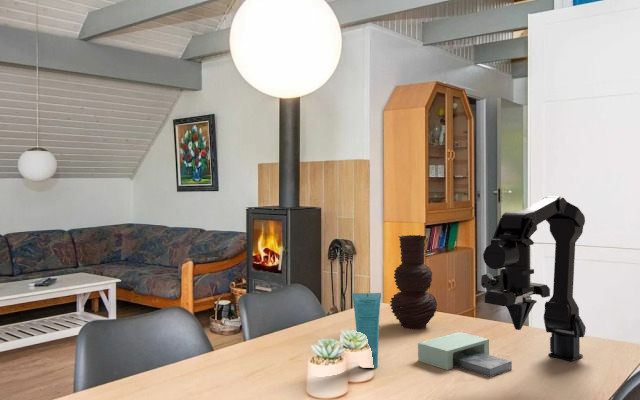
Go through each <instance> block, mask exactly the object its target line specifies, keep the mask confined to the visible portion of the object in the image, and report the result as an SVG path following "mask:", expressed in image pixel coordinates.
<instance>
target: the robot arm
mask: <svg viewBox="0 0 640 400" xmlns="http://www.w3.org/2000/svg"><path fill="white" fill-rule="evenodd" d="M544 221H546V222H547V223H548V225H549V233H550V235H551V236H552V238H553V239H554V242H555V251H554V266H553V270H554V272H553V284H552V285H553V289H552V296H551V288H550V287H549V286H548V284H544V283H537V282H531V275H533V274H535V269H534V268H531V246H533V245H534V244H535V243H534V240H532V239H531V237H532V235H534V233H535V232H536V231H538V225H539V224H541V223H542V222H544ZM585 224H586V217H585V215H584V213H583V212H582V211H581V209H580V208H579V206H578V207H577V206H576V205H574V204H572V203H570V202H568V201H567V200H566V199H565V198H564V197H563V196H545V197H543V198H542V200H539V201H538V202H535V203H534V204H532V205H530V206H528V207H526V208H524V209H522V210H512V211H507V212H504V213H503V214H502V215H501V218H500V219H499V221H498V224H497V227H496V229H495V231H494V234H493V236H492V239H490V244H489V245H488V246H486V248H485V249H484V251H483V255H482V257H483V261H484V264H485V265H486V266H487V267H488V268H490V269H493V270H499V269H500V273H499V274H498V275H494V276H493V275H492V274H491V273H486V274H482V275H481V278H480V279H481V280H480V282H481V283H480V285H481V286H482V288H483V289H485V290H486V292H485V293H484V294H483V295H484V296H483V297H484V299H483V302H484V303H485V304H489V305H496V306H501V307H505V308H506V309H507V311H508V313H509V316H510V318H511V321H512V324H513V327H514V330H516V331H521V330H522V328H523V326H524V324H525V322H526V319H527V318H528V316H529V314H530V313H531V311H532V309H533V307H534V305H535V304H537V300H535V299H532V295H537V296H538V295H539V296H540V297H541V298H548V297H550V296H551V298H550V299H549V300H548V301H545V303H544V312H543V313H544V314H543V322H544V327H545V332H546V333H551V336H550V337H549V350H550V353H548V355H547V356H549V357H552V358H557V359H561V360H564V361H567V362H568V361H570V362H572V361H575V360H577V359H580V358H583V357H584V356H583V354H582V353H580V352H581V351H580V350H581V349H580V348H581V347H580V342H581V341H580V338H584V337H585V335H586V325H585V323H584V321H583V319H581V316H580V309H579V306H578V304H577V302H576V301H575V298H574V297H573V296H574V281H575V280H574V276H575V274H574V273H575V257H576V256H575V255H576V254H575V253H576V243H577V241H578V240H579V239H580V237H581V236H582V235H583V233H584V232H583V231H584V226H585Z"/></svg>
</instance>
